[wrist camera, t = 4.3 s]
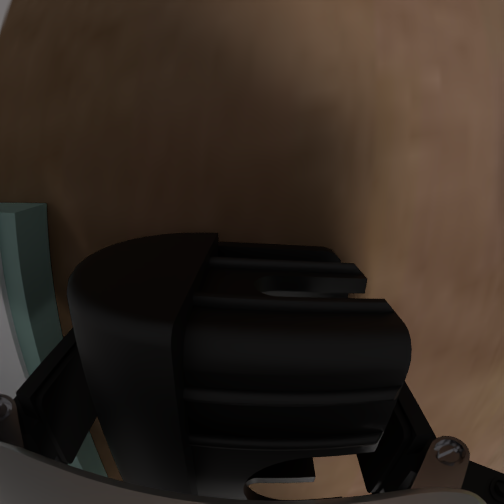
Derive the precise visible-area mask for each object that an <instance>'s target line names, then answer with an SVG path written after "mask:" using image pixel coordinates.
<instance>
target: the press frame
mask: <svg viewBox="0 0 504 504" xmlns="http://www.w3.org/2000/svg"><path fill="white" fill-rule="evenodd" d="M62 339H63V336H62V331H61V327H60V321H59V316H58V310H57V305H56V298H55V292H54V285H53V277H52V269H51V261H50V250H49V239H48V224H47V203H0V394H4V395H8V396H10V397H11V398H12V399H14V398H15V397H16V396H17V395H16V392H17V390H18V389H19V388H20V387H21V386H22V384H23V383H24V382H25V381H26V380H27V378H28V377H29V376H30V375H31V374H32V373H33V371H34V370H35V369H36V368H37V367H38V366H39V365H40V363H41V362H42V361H43V360H44V359H45V358H46V357H47V356H48V354H49V353H50V352H51V351H52V350H53V349H54V348H55V347H56V346H57V344H58V343H59V342H60V341H61V340H62ZM68 465H70V466H73V467H76V468H79V469H82V470H85V471H88V472H91V473H94V474H98V475H101V476H105V477H108V476H107V474H106V472H105V469H104V467H103V465H102V462H101V460H100V457H99V455H98V452H97V450H96V447H95V445H94V442H93V440H92V437H91V434H90V431H89V432H88V434H87V436H86V438H85V440H84V441H83V443H82V445H81V447H80V449H79V451H78V453H77V455H76V457H75V459H74V461H73V463H71V464H68Z"/></svg>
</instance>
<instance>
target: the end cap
mask: <svg viewBox="0 0 504 504" xmlns="http://www.w3.org/2000/svg"><path fill="white" fill-rule="evenodd" d="M218 239H219V238H218V233H175V234H163V235H155V236H148V237H142V238H137V239H132V240H128V241H124V242H121V243H117V244H114V245H111V246H109V247H106V248H103V249H101V250H99V251H97V252H95V253H94V254H92V255H90V256H88V257H87V258H85V259H84V260H83V261H82V262H80V263H79V264H78V265H77V266H76V268H75V269H74V271H73V272H72V274H71V275H70V277H69V280H68V287H67V299H68V304H69V310H70V315H71V320H72V325H73V329H74V334H75V338H76V343H77V347H78V351H79V355H80V359H81V363H82V367H83V370H84V374H85V378H86V381H87V385H88V388H89V391H90V394H91V398H92V401H93V404H94V407H95V410H96V413H97V416H98V419H99V422H100V425H101V427H102V430H103V433H104V435H105V438H106V441H107V443H108V446H109V448H110V451H111V453H112V456H113V458H114V461H115V463H116V465H117V468H118V470H119V472H120V475H121V477H122V479H123V481H124V482H128V483H132V484H136V485H140V486H145V487H150V488H155V489H160V490H165V491H171V492H177V493H184V494H190V495H198V496H206V497H216V498H227V499H241V500H265V501H296V500H278V499H272V498H268V497H264V496H262V495H259V494H257V493H255V492H254V491H252V490H251V489H250V488H249V487H248V485H249V484H252V483H297V482H314V480H315V470H314V464H313V457H327V456H340V455H350V454H360V453H368V452H375V450H376V448H377V446H378V444H379V441H380V439H381V437H382V435H383V433H384V430H385V428H386V426H387V424H388V421H389V419H390V417H391V414H392V412H393V409H394V407H395V404H396V402H397V399H398V397H399V394H400V392H401V389H402V386H403V384H404V381H405V378H406V375H407V373H408V370H409V366H410V362H411V350H412V349H411V339H410V335H409V331H408V329H407V327H406V325H405V324H404V322H403V321H402V320H401V319H400V317H399V316H398V315H397V314H396V312H395V311H394V310H393V309H392V308H391V306H390V305H389V304H388V303H387V301H386V300H385V299H355V298H348V293H365V289H366V283H367V278H366V277H365V276H364V274H363V273H362V272H361V271H360V270H359V269H358V268H357V266H356V265H355V264H354V263H341V260H340V259H339V258H338V257H337V255H336V254H335V253H334V252H333V251H332V250H331V249H328V248H325V247H316V246H298V245H278V244H258V243H238V242H218ZM333 498H342V497H333ZM333 498H323V499H333ZM309 500H319V499H309Z"/></svg>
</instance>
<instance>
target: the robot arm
mask: <svg viewBox="0 0 504 504" xmlns="http://www.w3.org/2000/svg"><path fill="white" fill-rule="evenodd" d="M16 395H17V396H16V397H15V398H14V399H12V398H11V397H10V396H8V395H4V394H0V504H504V474H503V473H500V472H498V471H495V470H492V469H490V468H487V467H485V466H482V465H479V464H477V463H474V462H472V461H469V459H470V452H469V449H468V447H467V446H466V444H465V443H463V442H462V441H461V440H459V439H457V438H455V437H451V436H441V437H438V438H436V436H435V434H434V432H433V430H432V429H431V427H430V425H429V423H428V421H427V419H426V418H425V416H424V414H423V412H422V410H421V409H420V407H419V405H418V403H417V401H416V400H415V398H414V396H413V394H412V393H411V391H410V389H409V388H408V386H407V384H406V382H405V381H404V384H403V386H402V389H401V392H400V394H399V397H398V399H397V402H396V404H395V407H394V409H393V412H392V414H391V417H390V419H389V421H388V424H387V426H386V428H385V430H384V433H383V435H382V437H381V439H380V441H379V444H378V446H377V448H376V450H375V452H368V453H360V454H357V458H358V461H359V465H360V468H361V472H362V475H363V479H364V482H365V486H366V489H367V492H369V493H371V492H372V494H371V495H363V496H354V497H344V498H333V499H319V500H296V501H265V500H241V499H227V498H216V497H206V496H198V495H190V494H184V493H177V492H171V491H165V490H160V489H155V488H150V487H145V486H140V485H136V484H132V483H128V482H123V481H119V480H116V479H112V478H108V477H105V476H101V475H98V474H94V473H91V472H88V471H85V470H82V469H79V468H76V467H73V466H70V465H68V464H71V463H73V461H74V459H75V457H76V455H77V453H78V451H79V449H80V447H81V445H82V443H83V441H84V440H85V438H86V436H87V434H88V432H89V430H90V428H91V426H92V424H93V422H94V420H95V419H96V417H97V413H96V410H95V407H94V404H93V401H92V398H91V394H90V391H89V388H88V385H87V381H86V378H85V374H84V370H83V367H82V363H81V359H80V355H79V351H78V347H77V343H76V338H75V334H74V329H73V328H72V329H71V330H70V331H69V332H68V334H67V335H66V336H65V337H64V338H63V339H62V340H61V341H60V342H59V343H58V344H57V346H56V347H55V348H54V349H53V350H52V351H51V352H50V353H49V354H48V356H47V357H46V358H45V359H44V360H43V361H42V362H41V363H40V365H39V366H38V367H37V368H36V369H35V370H34V371H33V373H32V374H31V375H30V376H29V377H28V378H27V380H26V381H25V382H24V383H23V384H22V386H21V387H20V388H19V389H18V390H17V392H16Z"/></svg>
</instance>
